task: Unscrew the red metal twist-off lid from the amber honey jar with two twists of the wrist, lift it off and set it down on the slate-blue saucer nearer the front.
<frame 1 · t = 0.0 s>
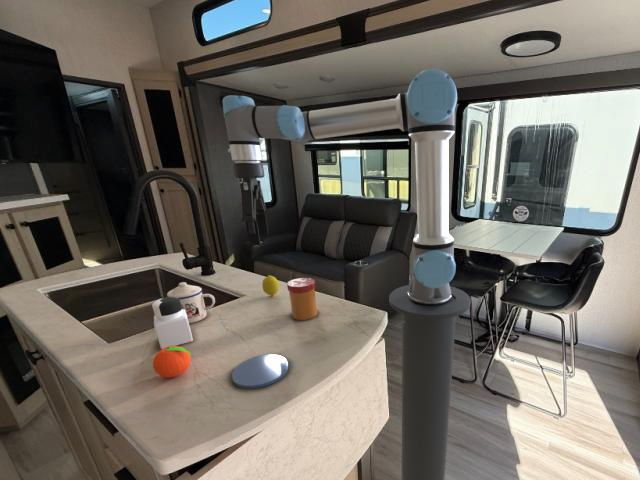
hand: (259, 239, 93), 24 cm above the countertop, tool pointing down, fingers open, 13 cm apart
jar: (304, 314, 102), on the countertop
saucer: (261, 371, 74), on the countertop
clementine: (178, 374, 73), on the countertop
lemon: (272, 296, 116), on the countertop
lid: (301, 283, 98), point 11 cm above the countertop, screwed on, not yet turned
medicine bottle: (177, 340, 87), on the countertop
teacup with lid: (196, 317, 100), on the countertop
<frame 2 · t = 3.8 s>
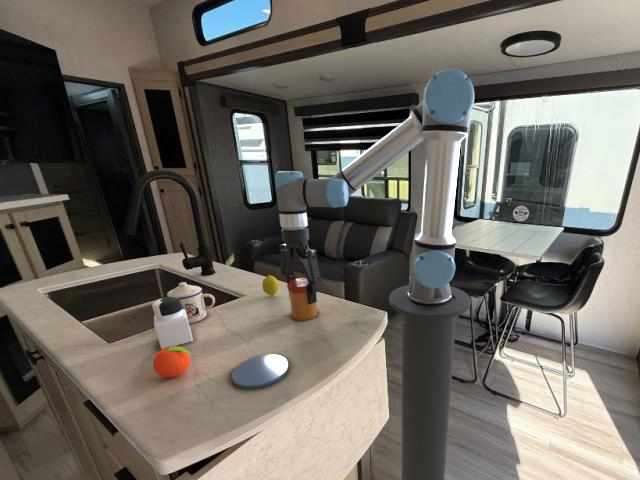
hand: (303, 299, 100), 5 cm above the countertop, tool pointing down, fingers closed on lid, 8 cm apart
lid: (301, 283, 98), point 11 cm above the countertop, screwed on, not yet turned, touching gripper
everything else where it was.
when the fingers open (5 cm above the countertop, at t = 5.9 s): lid stays where it is, point 11 cm above the countertop.
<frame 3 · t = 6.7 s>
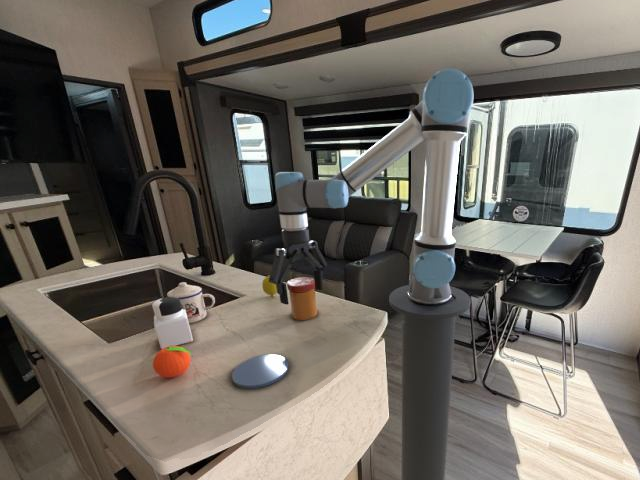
hand: (302, 296, 99), 6 cm above the countertop, tool pointing down, fingers open, 13 cm apart
lid: (301, 282, 98), point 11 cm above the countertop, turned 90° so far, risen 0.2 cm, still on its thread
everything else where it was.
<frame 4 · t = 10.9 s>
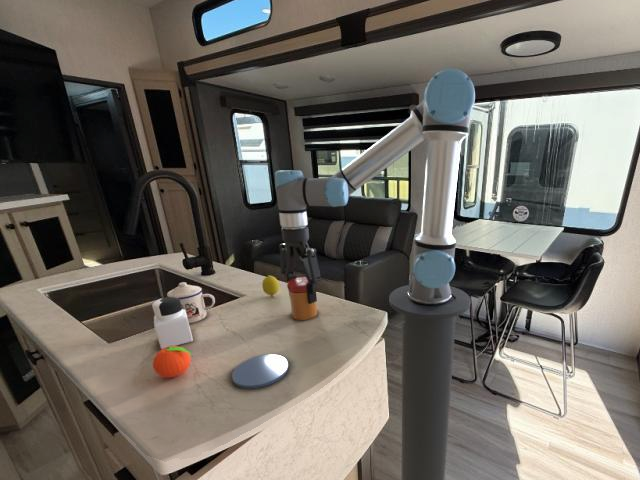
hand: (303, 299, 100), 5 cm above the countertop, tool pointing down, fingers closed on lid, 8 cm apart
lid: (301, 282, 98), point 11 cm above the countertop, turned 90° so far, risen 0.2 cm, still on its thread, touching gripper
everything else where it was.
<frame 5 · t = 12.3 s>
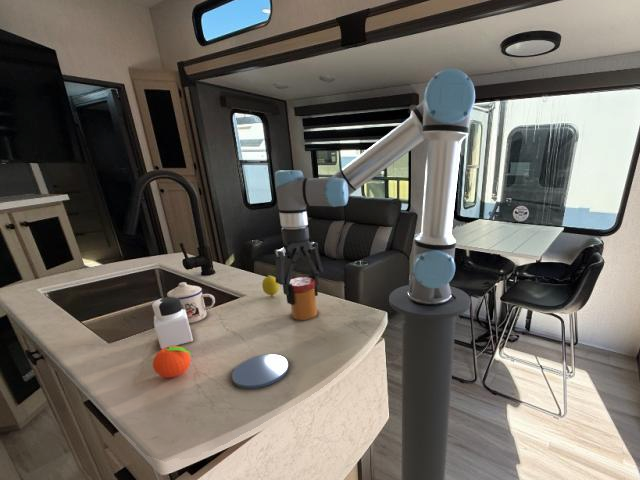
hand: (303, 299, 100), 5 cm above the countertop, tool pointing down, fingers closed on lid, 8 cm apart
lid: (301, 282, 98), point 11 cm above the countertop, off its thread, touching gripper
everything else where it was.
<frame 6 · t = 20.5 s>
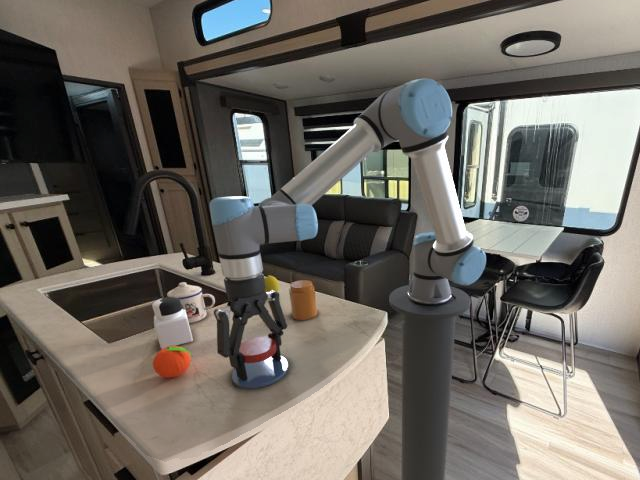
hand: (260, 367, 73), 1 cm above the countertop, tool pointing down, fingers closed on lid, 8 cm apart
lid: (256, 347, 71), point 7 cm above the countertop, off its thread, touching gripper
everything else where it was.
when the fingers open (2 cm above the countertop, at t = 26.5 s): lid drops 5 cm, resting on saucer.
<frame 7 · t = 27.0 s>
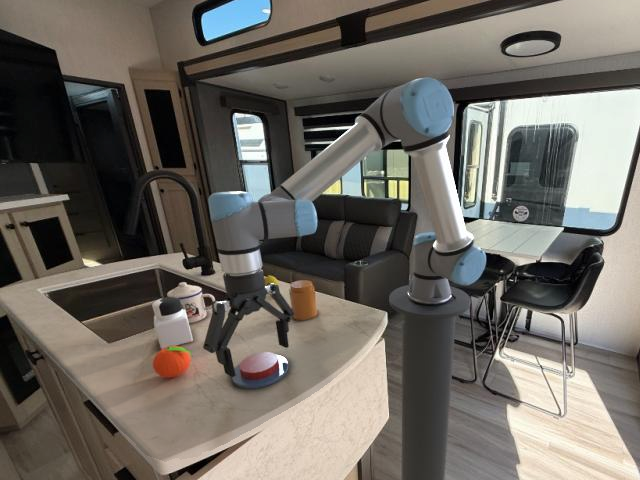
hand: (259, 359, 72), 3 cm above the countertop, tool pointing down, fingers open, 13 cm apart
lid: (259, 363, 73), point 2 cm above the countertop, off its thread, touching saucer
everything else where it was.
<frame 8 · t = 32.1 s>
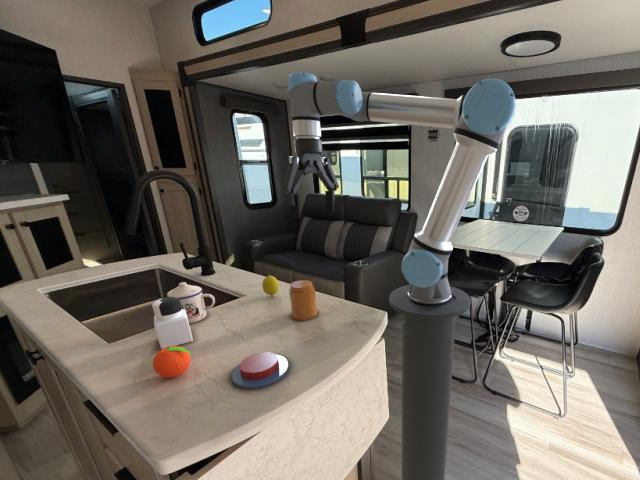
hand: (314, 214, 97), 31 cm above the countertop, tool pointing down, fingers open, 13 cm apart
nothing on the countertop moved.
at the end: lid came off its thread; lid inside the target area on the saucer (0.1 cm from its centre), point 2.3 cm above the saucer's base; the gripper is holding nothing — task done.
